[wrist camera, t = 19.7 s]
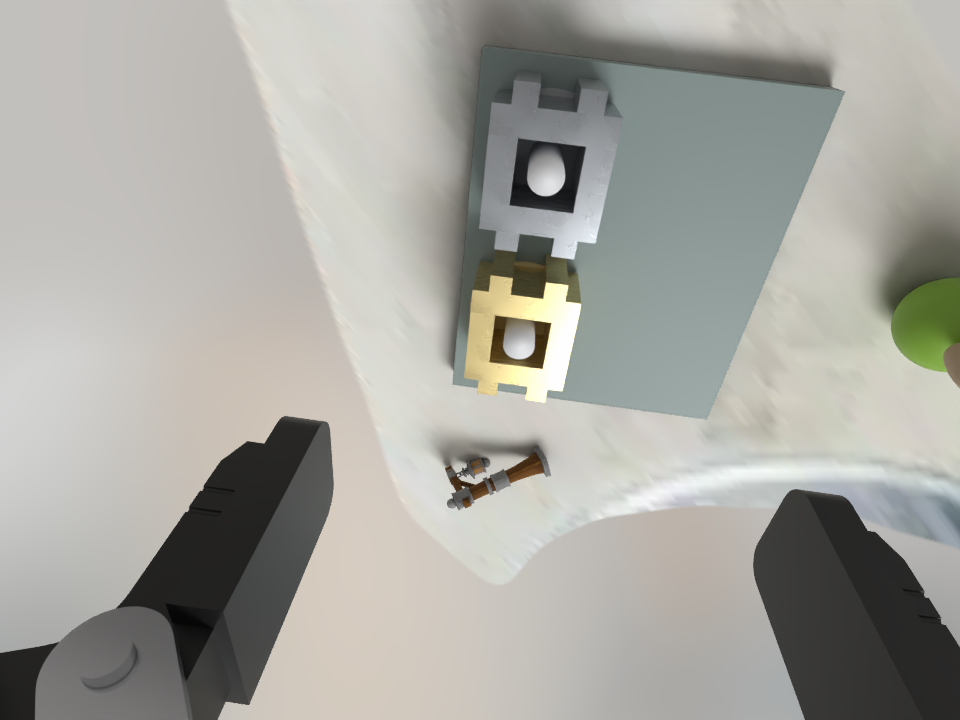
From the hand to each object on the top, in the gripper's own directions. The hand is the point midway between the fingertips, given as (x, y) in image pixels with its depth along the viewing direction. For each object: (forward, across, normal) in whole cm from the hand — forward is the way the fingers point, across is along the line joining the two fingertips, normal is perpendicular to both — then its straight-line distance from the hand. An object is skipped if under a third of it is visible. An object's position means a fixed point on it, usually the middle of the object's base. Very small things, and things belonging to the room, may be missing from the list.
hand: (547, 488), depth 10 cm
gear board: (+26, -5, +6) cm, 27 cm away
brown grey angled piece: (+26, 0, +25) cm, 36 cm away
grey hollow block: (+24, 0, 0) cm, 24 cm away
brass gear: (+24, 0, +10) cm, 26 cm away
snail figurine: (+26, -24, +6) cm, 36 cm away
